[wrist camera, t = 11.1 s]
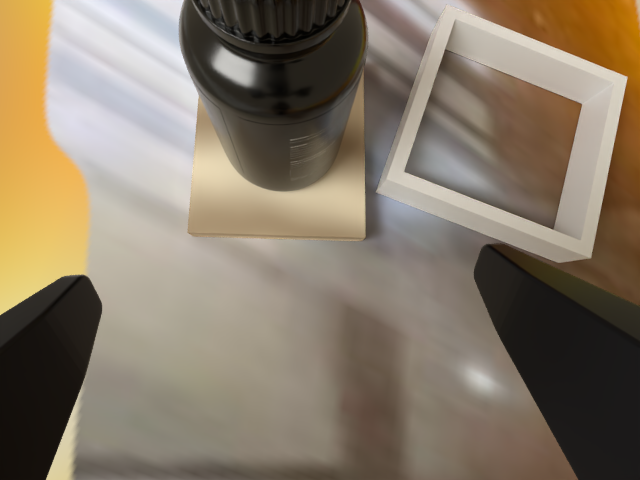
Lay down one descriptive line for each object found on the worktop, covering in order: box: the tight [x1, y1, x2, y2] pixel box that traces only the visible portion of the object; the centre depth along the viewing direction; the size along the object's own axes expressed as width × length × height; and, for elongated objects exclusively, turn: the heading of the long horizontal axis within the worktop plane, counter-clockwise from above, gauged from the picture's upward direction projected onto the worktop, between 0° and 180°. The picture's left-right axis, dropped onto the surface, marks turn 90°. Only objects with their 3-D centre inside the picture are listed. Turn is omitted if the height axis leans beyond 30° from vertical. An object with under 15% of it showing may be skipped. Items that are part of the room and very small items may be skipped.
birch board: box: [188, 69, 366, 241], centre depth 21 cm, size 12×10×1 cm
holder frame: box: [376, 5, 627, 263], centre depth 22 cm, size 13×13×2 cm
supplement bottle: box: [179, 0, 368, 192], centre depth 15 cm, size 7×7×12 cm
